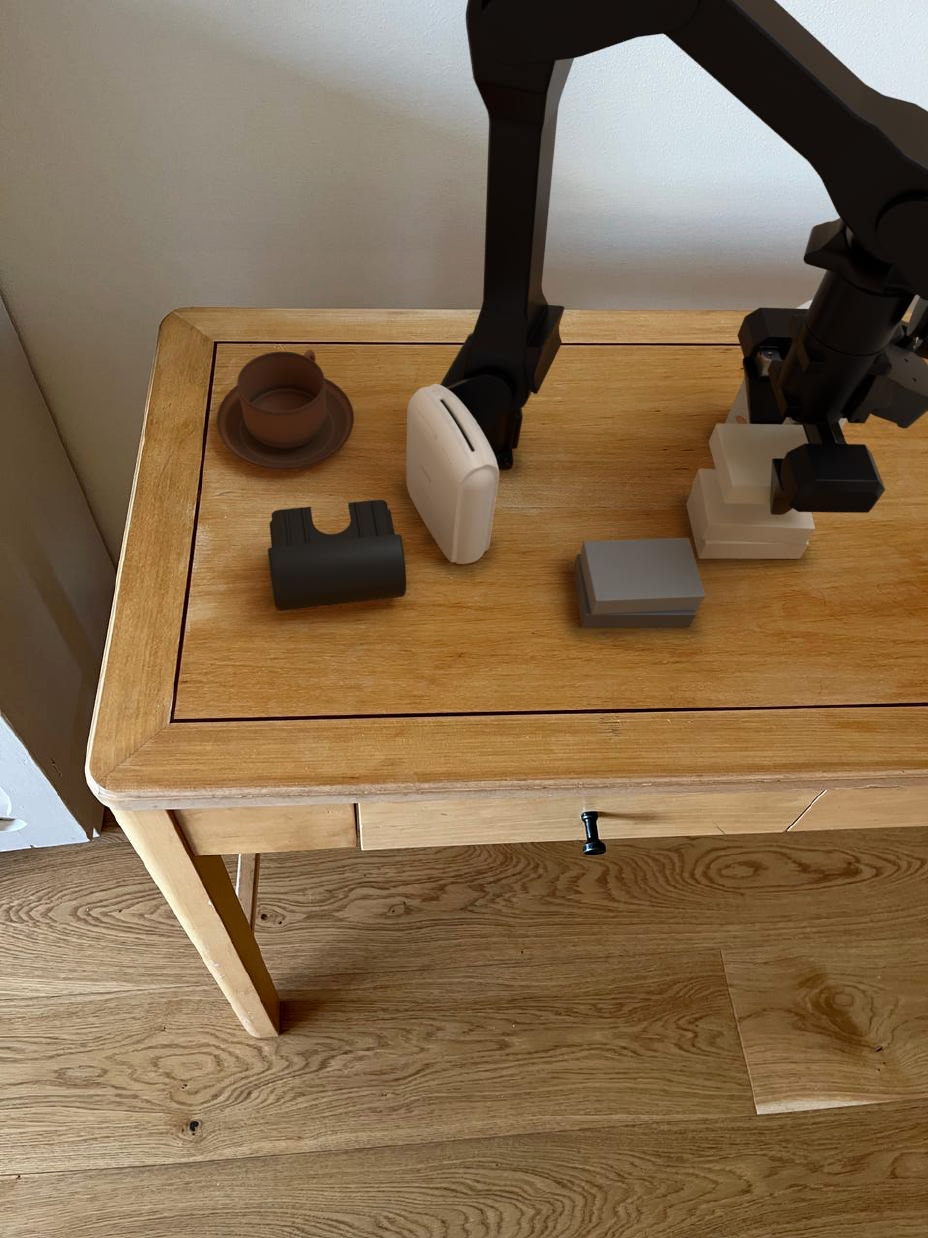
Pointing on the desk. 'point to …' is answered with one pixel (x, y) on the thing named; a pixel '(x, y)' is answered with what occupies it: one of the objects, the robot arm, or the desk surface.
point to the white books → (743, 525)
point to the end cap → (335, 558)
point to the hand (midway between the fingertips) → (767, 480)
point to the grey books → (637, 583)
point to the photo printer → (450, 473)
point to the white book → (750, 458)
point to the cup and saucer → (284, 413)
